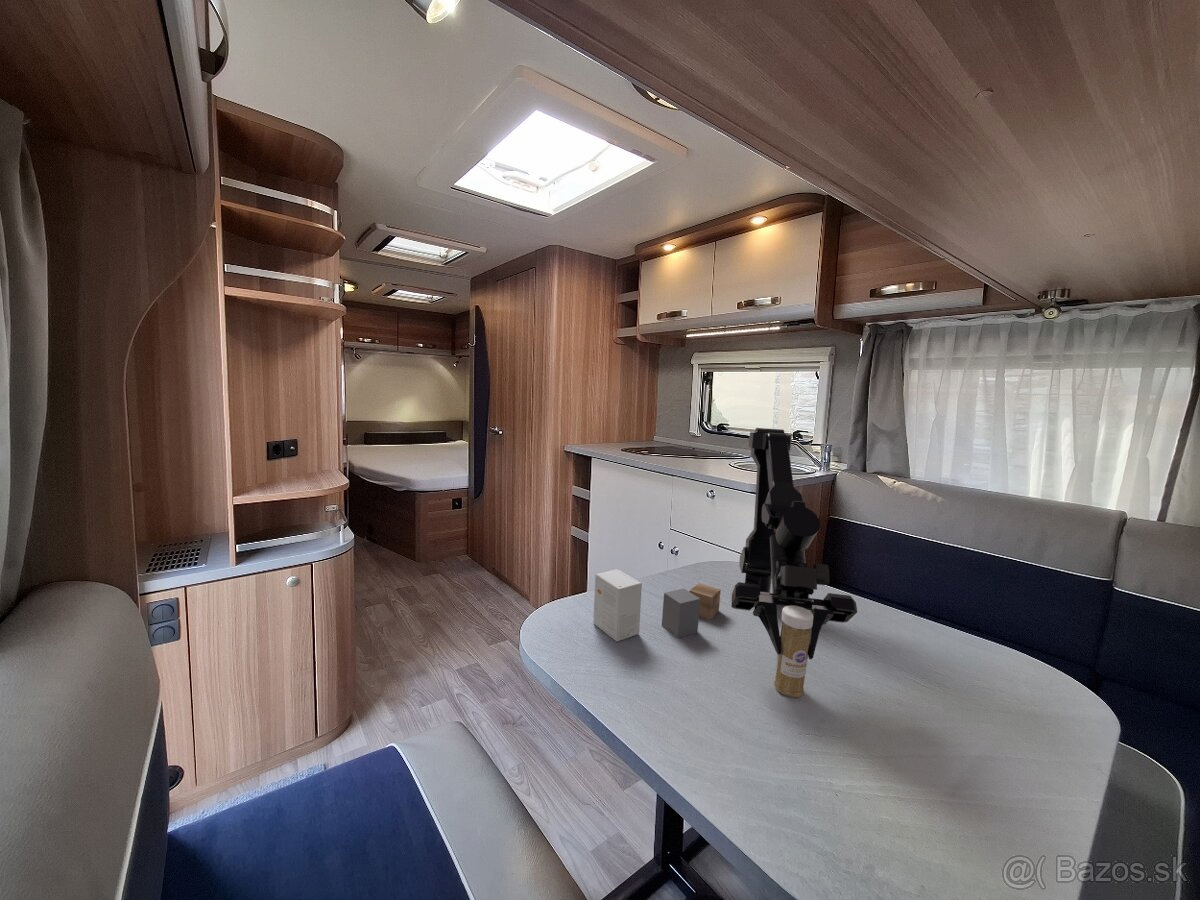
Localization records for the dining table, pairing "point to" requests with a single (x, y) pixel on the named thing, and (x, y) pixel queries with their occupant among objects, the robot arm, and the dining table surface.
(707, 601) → the walnut cube
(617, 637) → the small box
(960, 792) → the dining table surface
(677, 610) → the gray block
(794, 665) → the sprinkles bottle
